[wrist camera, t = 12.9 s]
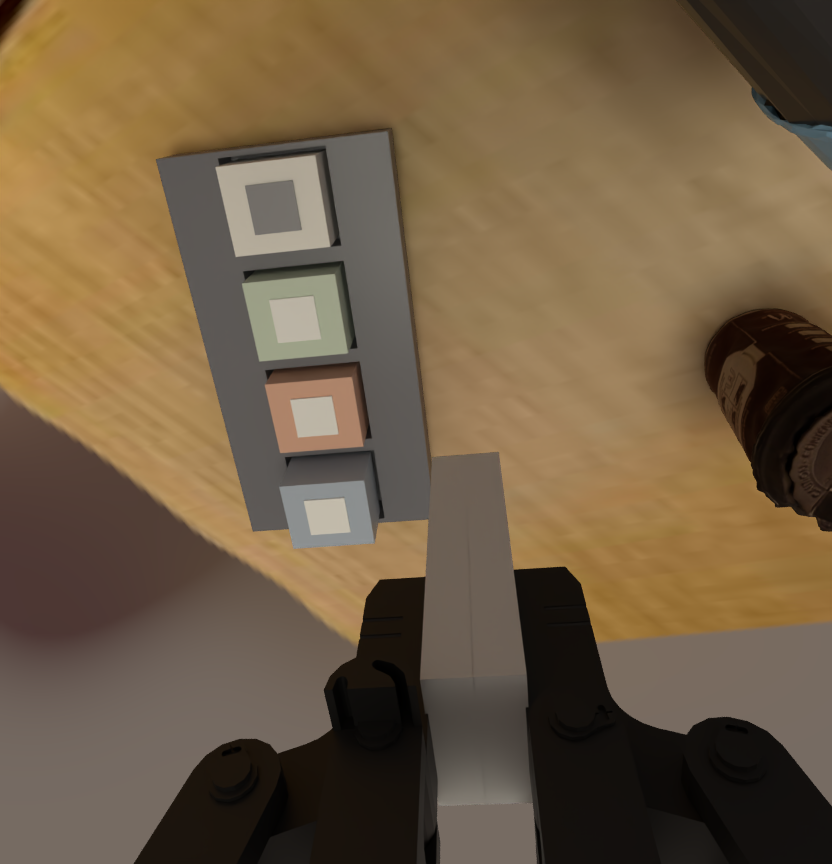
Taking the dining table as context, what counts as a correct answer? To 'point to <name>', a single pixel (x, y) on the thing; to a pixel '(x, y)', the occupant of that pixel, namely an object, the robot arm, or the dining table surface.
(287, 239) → the key
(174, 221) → the keypad
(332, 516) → the key
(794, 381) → the coffee cup
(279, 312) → the key
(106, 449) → the dining table surface
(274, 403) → the key
